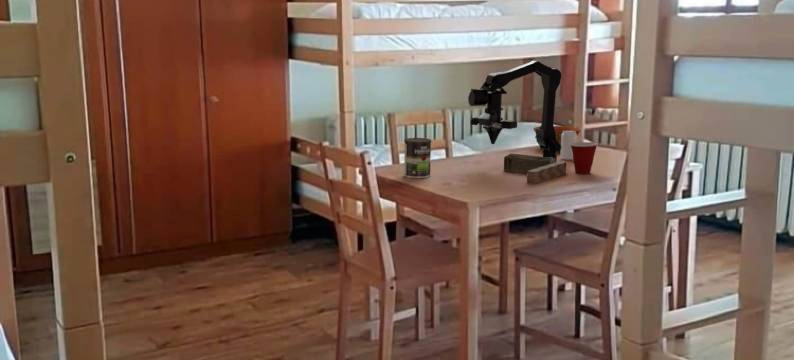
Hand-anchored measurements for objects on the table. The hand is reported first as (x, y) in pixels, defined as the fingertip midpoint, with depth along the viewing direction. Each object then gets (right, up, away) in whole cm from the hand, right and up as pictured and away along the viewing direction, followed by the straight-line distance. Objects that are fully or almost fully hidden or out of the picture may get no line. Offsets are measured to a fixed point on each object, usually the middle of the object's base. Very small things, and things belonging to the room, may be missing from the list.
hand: (492, 144), depth 328 cm
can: (+35, -6, +24) cm, 43 cm away
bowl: (+35, -1, +47) cm, 58 cm away
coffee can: (-31, -13, -13) cm, 36 cm away
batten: (+19, -14, -16) cm, 28 cm away
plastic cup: (+35, -12, -6) cm, 37 cm away
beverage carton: (+14, -12, -4) cm, 19 cm away
